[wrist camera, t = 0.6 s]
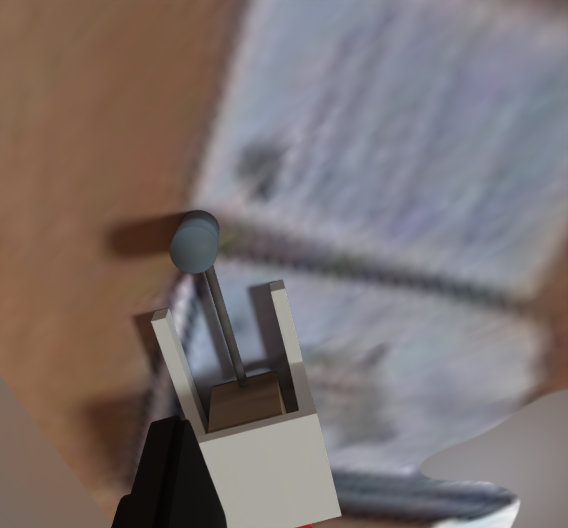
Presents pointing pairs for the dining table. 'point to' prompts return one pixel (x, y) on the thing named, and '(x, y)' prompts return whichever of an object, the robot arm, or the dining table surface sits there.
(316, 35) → the dining table surface
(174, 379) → the lever switch box
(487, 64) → the dining table surface
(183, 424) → the robot arm
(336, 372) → the dining table surface
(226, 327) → the knobbed lever joystick
